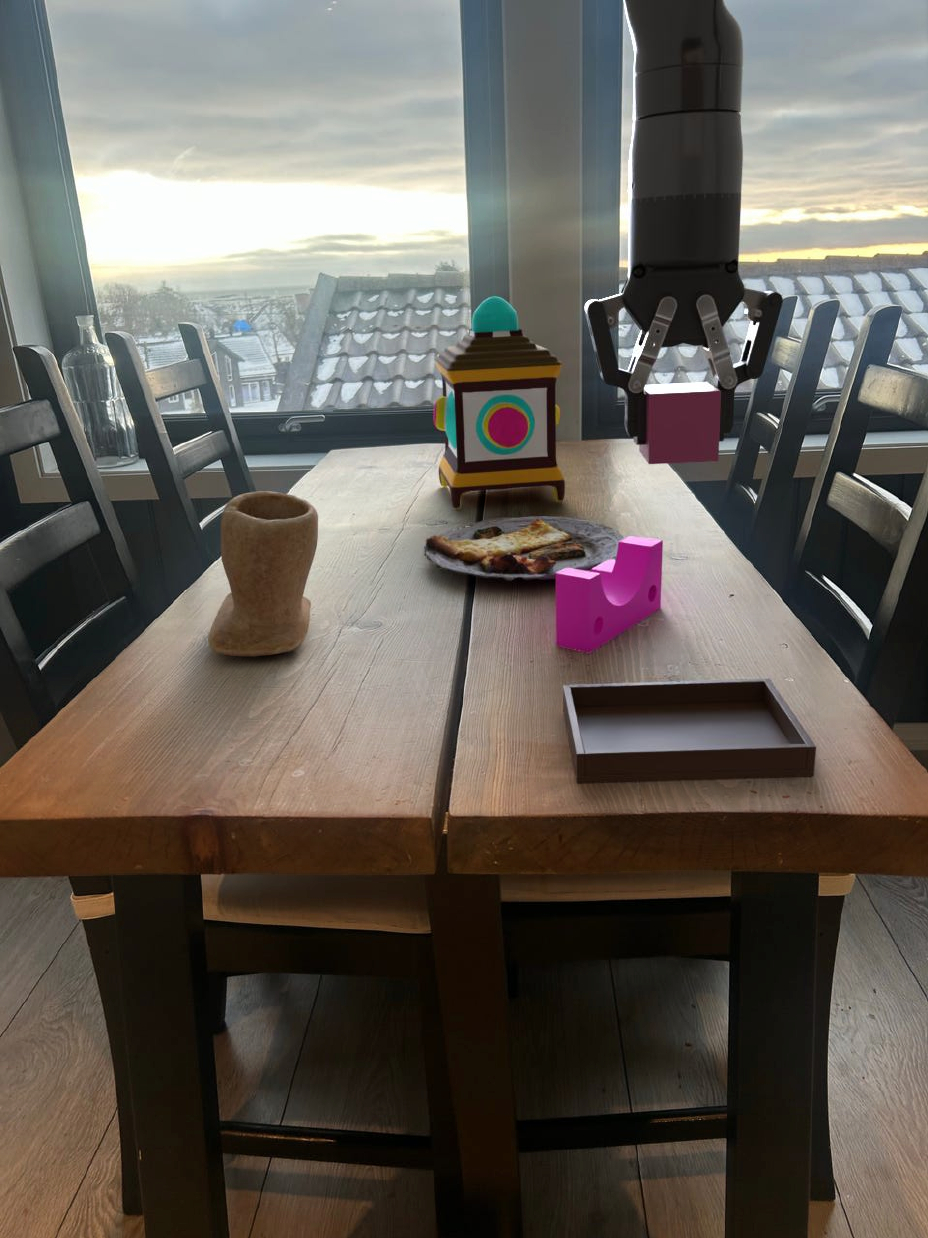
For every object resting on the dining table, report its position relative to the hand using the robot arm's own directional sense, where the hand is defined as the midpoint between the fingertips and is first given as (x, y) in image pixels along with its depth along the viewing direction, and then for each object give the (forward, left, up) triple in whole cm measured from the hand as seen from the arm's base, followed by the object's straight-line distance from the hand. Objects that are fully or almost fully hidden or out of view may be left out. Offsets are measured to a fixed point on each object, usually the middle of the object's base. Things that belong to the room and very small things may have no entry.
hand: (678, 440), depth 74 cm
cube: (0, 0, -1) cm, 1 cm away
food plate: (+35, -31, -23) cm, 52 cm away
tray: (-2, +3, -23) cm, 23 cm away
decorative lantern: (+58, -59, -23) cm, 86 cm away
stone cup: (+43, +4, -23) cm, 49 cm away
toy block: (+16, -17, -23) cm, 33 cm away
